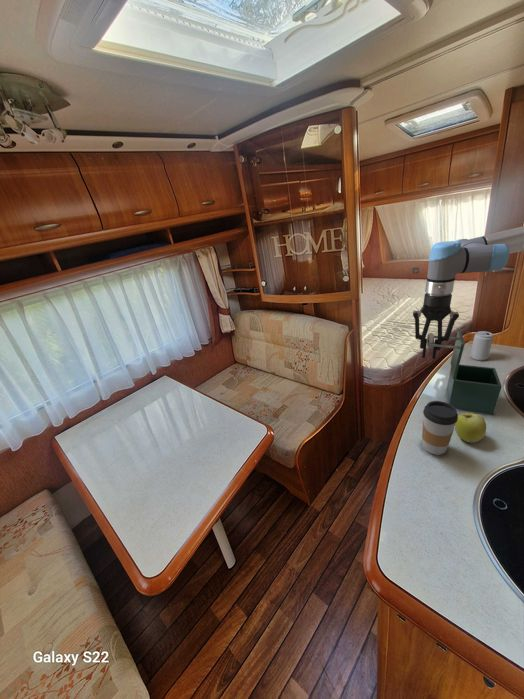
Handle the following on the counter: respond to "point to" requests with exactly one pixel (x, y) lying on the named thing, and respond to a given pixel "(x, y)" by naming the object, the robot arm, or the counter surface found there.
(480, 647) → the counter surface
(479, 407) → the waste bin
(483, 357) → the beverage can
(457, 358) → the bin lid
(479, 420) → the apple
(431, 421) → the coffee cup
